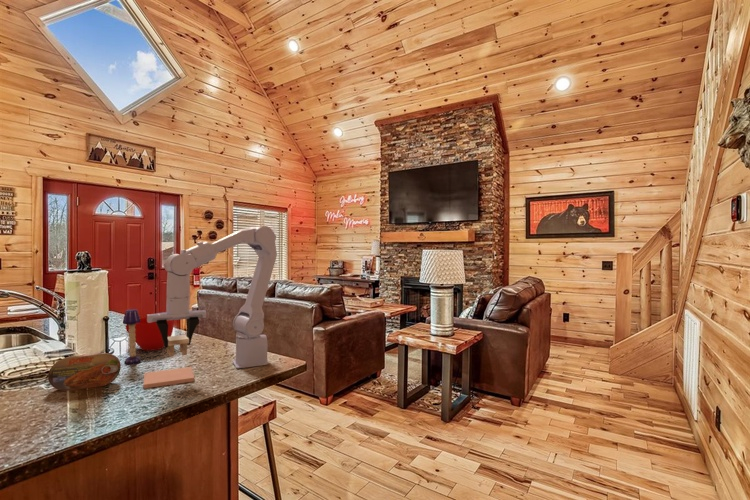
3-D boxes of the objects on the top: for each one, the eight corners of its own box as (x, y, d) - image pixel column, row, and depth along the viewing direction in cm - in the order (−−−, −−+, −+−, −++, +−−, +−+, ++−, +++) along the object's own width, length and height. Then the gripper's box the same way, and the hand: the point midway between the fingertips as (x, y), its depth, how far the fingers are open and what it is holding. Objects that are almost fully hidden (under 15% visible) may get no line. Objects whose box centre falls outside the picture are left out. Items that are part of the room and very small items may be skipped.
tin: (47, 393, 94) (47, 359, 93) (51, 388, 96) (51, 356, 96) (119, 384, 101) (120, 353, 100) (121, 380, 103) (121, 350, 103)
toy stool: (184, 350, 108) (185, 334, 108) (188, 354, 104) (189, 338, 104) (165, 352, 105) (165, 336, 105) (168, 357, 101) (168, 340, 101)
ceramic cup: (140, 341, 142) (140, 315, 142) (181, 344, 140) (181, 317, 139) (111, 351, 129) (111, 322, 129) (156, 354, 127) (156, 324, 127)
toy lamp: (131, 365, 115) (132, 311, 115) (118, 364, 116) (119, 310, 115) (143, 361, 120) (144, 308, 119) (131, 359, 120) (132, 308, 120)
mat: (191, 370, 113) (191, 366, 113) (194, 381, 104) (194, 377, 104) (144, 376, 107) (144, 372, 107) (143, 388, 98) (143, 384, 98)
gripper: (202, 293, 112) (201, 338, 112) (146, 296, 103) (145, 345, 104) (208, 296, 107) (207, 344, 107) (149, 300, 98) (148, 352, 98)
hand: (177, 345), depth 105 cm, fingers closed on toy stool, 5 cm apart
